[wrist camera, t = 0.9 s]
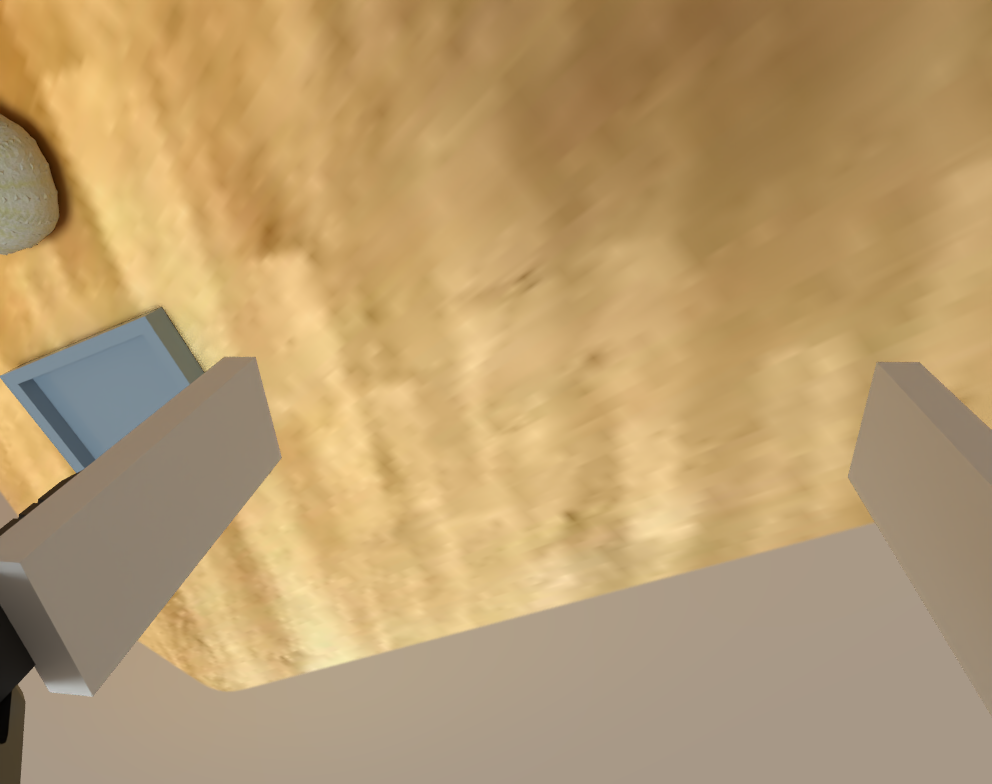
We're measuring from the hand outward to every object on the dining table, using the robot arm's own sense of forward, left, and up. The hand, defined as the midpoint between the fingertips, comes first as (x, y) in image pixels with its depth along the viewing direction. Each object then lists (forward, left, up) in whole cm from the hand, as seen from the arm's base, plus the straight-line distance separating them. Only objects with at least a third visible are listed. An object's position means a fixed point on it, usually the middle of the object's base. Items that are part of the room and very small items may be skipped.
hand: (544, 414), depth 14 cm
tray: (+4, -36, -25) cm, 43 cm away
